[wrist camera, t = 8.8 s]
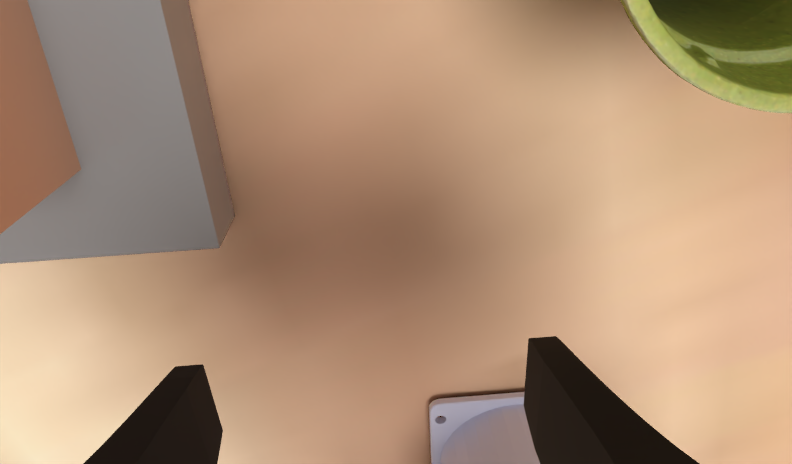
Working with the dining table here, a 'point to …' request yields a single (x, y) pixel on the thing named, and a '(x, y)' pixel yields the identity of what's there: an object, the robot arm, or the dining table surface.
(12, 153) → the terracotta cube
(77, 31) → the slate plinth
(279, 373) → the dining table surface
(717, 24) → the plant pot
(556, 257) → the dining table surface
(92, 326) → the dining table surface
